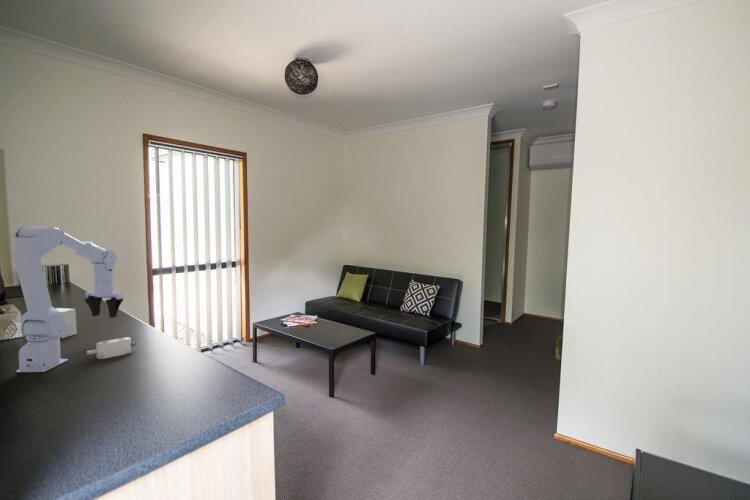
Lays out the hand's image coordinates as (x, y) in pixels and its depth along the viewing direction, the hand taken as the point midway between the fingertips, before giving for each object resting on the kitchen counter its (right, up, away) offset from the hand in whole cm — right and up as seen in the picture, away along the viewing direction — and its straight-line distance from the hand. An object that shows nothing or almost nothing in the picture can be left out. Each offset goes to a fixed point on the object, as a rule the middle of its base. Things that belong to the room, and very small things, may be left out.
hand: (104, 316), depth 133 cm
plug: (+13, -11, -12) cm, 21 cm away
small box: (-22, -9, +6) cm, 24 cm away
